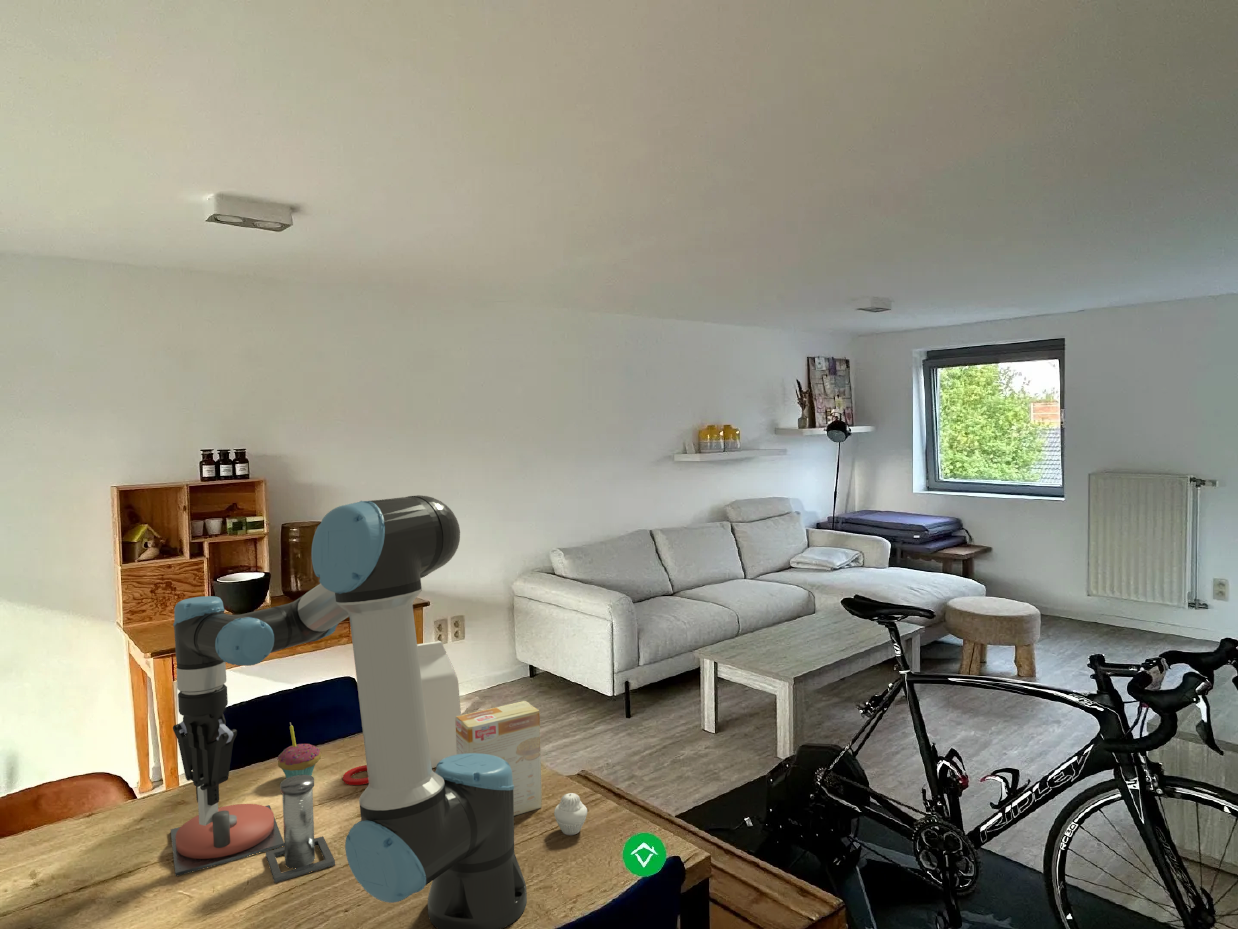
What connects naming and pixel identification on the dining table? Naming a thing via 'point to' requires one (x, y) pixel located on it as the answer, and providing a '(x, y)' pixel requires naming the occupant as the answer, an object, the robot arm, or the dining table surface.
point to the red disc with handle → (225, 831)
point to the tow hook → (352, 781)
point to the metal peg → (298, 820)
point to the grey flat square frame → (304, 869)
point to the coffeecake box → (507, 746)
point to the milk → (439, 700)
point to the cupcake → (298, 758)
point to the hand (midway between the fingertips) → (208, 821)
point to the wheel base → (192, 864)
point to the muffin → (570, 814)
